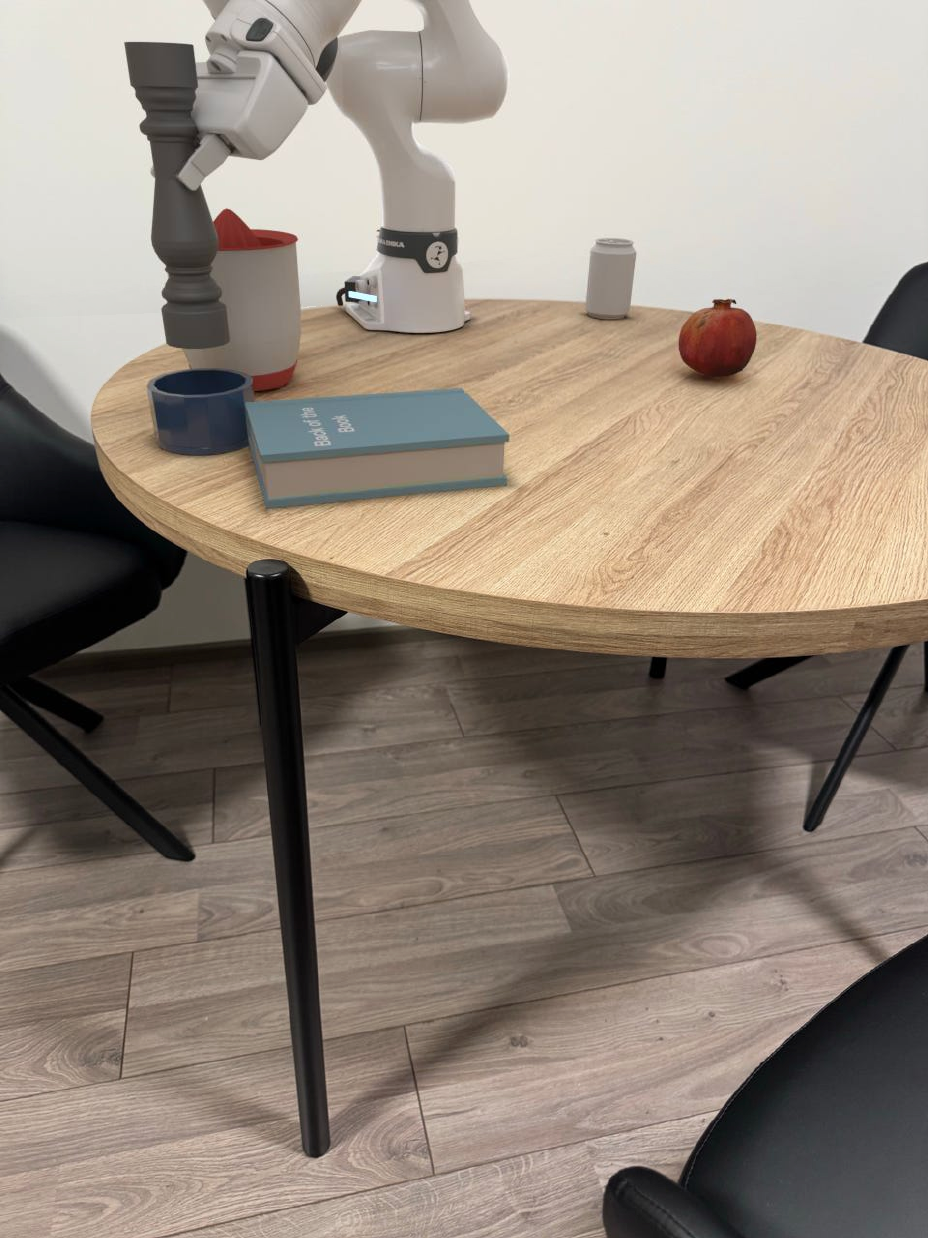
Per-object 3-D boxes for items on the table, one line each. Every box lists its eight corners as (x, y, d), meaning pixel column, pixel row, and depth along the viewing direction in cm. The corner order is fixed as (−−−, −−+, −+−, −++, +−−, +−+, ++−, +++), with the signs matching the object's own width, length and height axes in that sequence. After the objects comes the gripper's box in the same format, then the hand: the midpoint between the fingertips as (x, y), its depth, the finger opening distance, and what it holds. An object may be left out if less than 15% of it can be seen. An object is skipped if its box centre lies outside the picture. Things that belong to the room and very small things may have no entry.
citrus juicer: (293, 358, 121) (280, 198, 110) (319, 394, 107) (308, 215, 96) (175, 366, 116) (150, 200, 106) (187, 405, 102) (159, 217, 92)
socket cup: (145, 430, 94) (136, 375, 91) (239, 416, 99) (233, 363, 96) (171, 461, 87) (162, 402, 84) (272, 445, 91) (266, 388, 88)
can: (628, 321, 145) (637, 243, 139) (582, 318, 146) (589, 241, 140) (629, 312, 151) (638, 237, 145) (586, 309, 153) (593, 235, 146)
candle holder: (164, 336, 89) (119, 43, 76) (225, 332, 91) (192, 46, 78) (169, 350, 84) (122, 40, 71) (234, 346, 86) (200, 43, 73)
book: (266, 508, 78) (260, 455, 75) (249, 446, 91) (243, 399, 88) (506, 485, 84) (509, 434, 81) (458, 430, 97) (458, 385, 94)
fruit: (718, 392, 111) (732, 310, 106) (657, 374, 118) (668, 296, 113) (767, 378, 117) (782, 300, 112) (706, 362, 124) (718, 288, 119)
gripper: (181, 32, 85) (99, 148, 84) (289, 25, 71) (193, 162, 71) (228, 87, 90) (152, 197, 89) (338, 90, 76) (248, 219, 76)
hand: (171, 182), depth 80 cm, fingers closed on candle holder, 4 cm apart
